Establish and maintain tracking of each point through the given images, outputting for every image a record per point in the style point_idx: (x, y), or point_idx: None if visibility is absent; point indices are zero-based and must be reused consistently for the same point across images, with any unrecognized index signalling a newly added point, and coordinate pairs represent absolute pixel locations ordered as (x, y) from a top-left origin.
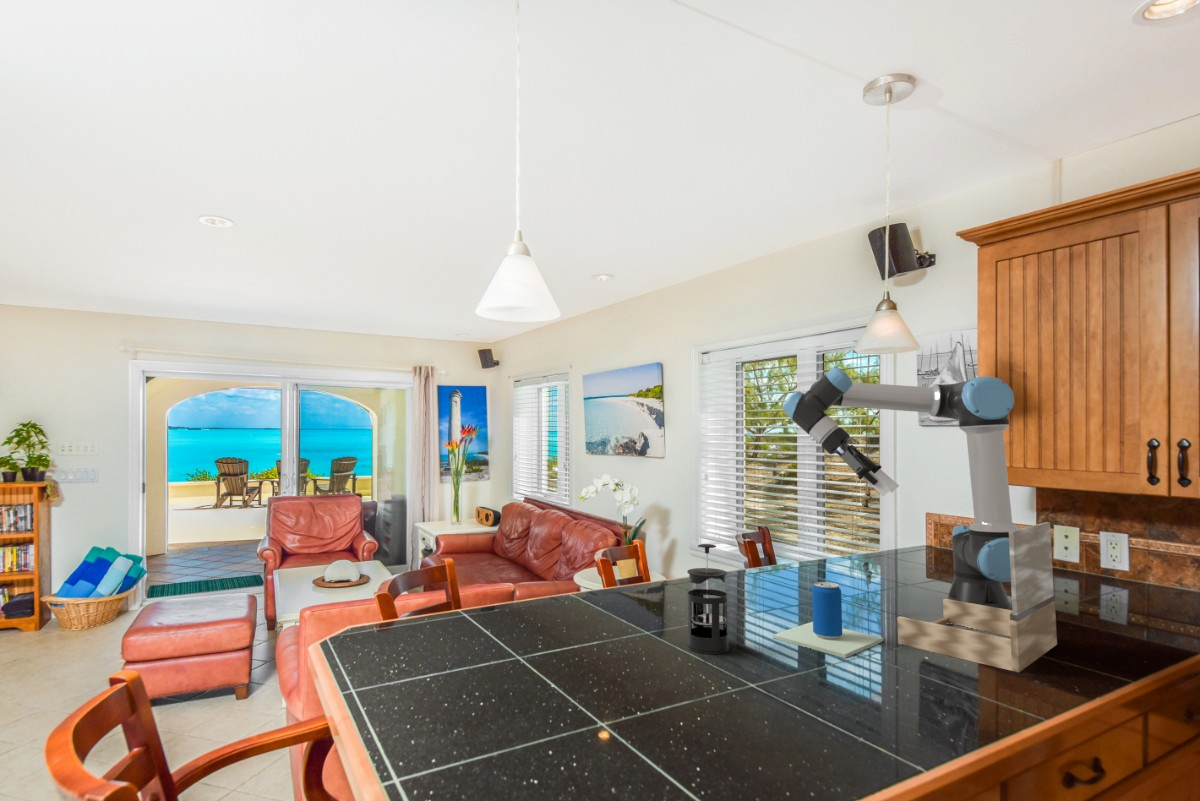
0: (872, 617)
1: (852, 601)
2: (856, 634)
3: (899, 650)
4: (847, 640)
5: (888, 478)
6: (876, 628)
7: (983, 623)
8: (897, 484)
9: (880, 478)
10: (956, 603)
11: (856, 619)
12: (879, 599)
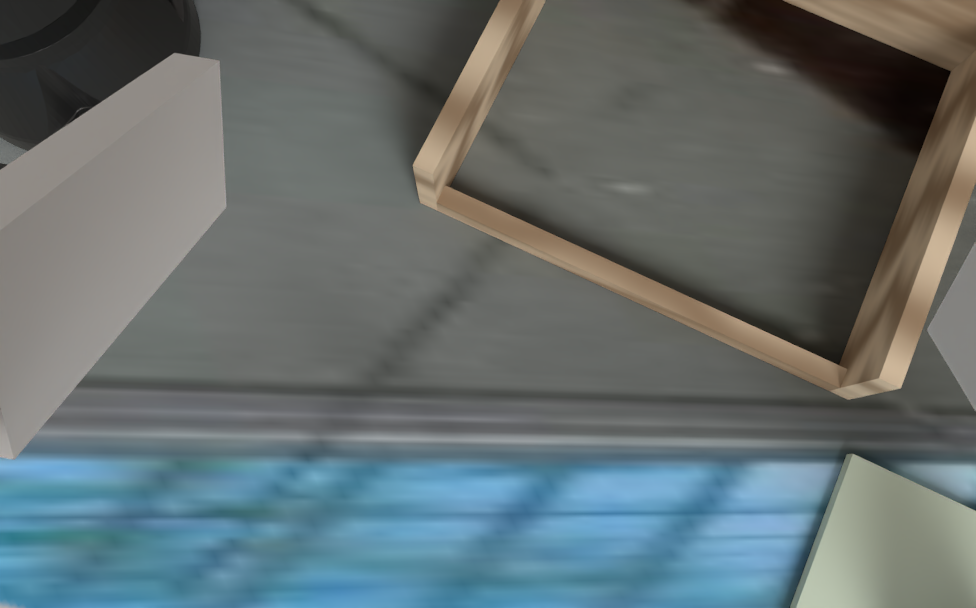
0: (468, 495)
1: (165, 597)
2: (858, 560)
3: (933, 398)
4: (969, 594)
5: (125, 156)
6: (656, 479)
7: (503, 71)
8: (180, 65)
9: (87, 305)
10: (457, 127)
11: (538, 567)
12: (67, 461)
